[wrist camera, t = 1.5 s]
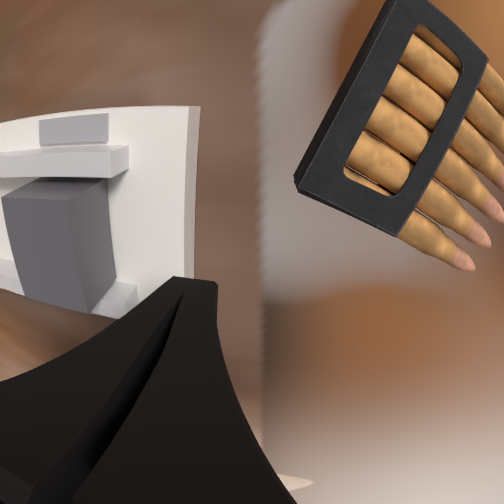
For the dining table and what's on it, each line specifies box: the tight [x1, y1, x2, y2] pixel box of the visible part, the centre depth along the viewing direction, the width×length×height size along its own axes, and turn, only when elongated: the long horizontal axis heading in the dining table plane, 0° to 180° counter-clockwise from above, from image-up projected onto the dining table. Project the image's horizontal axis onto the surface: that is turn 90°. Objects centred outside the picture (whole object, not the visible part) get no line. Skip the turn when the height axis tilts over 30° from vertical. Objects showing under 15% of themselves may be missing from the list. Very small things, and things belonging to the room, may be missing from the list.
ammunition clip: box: [293, 0, 504, 272], centre depth 11 cm, size 11×2×12 cm
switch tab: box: [1, 177, 117, 314], centre depth 12 cm, size 5×4×3 cm
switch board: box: [0, 106, 201, 319], centre depth 13 cm, size 11×18×4 cm, turn 84°
